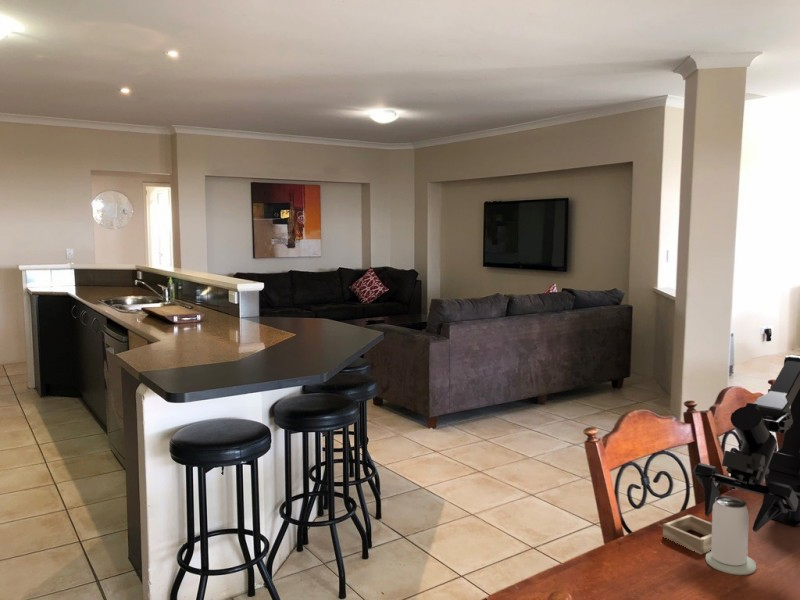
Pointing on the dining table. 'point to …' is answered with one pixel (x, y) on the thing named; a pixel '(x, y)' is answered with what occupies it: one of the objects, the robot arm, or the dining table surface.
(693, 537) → the holder
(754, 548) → the dining table surface
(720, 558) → the can
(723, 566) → the pale green flat disc
